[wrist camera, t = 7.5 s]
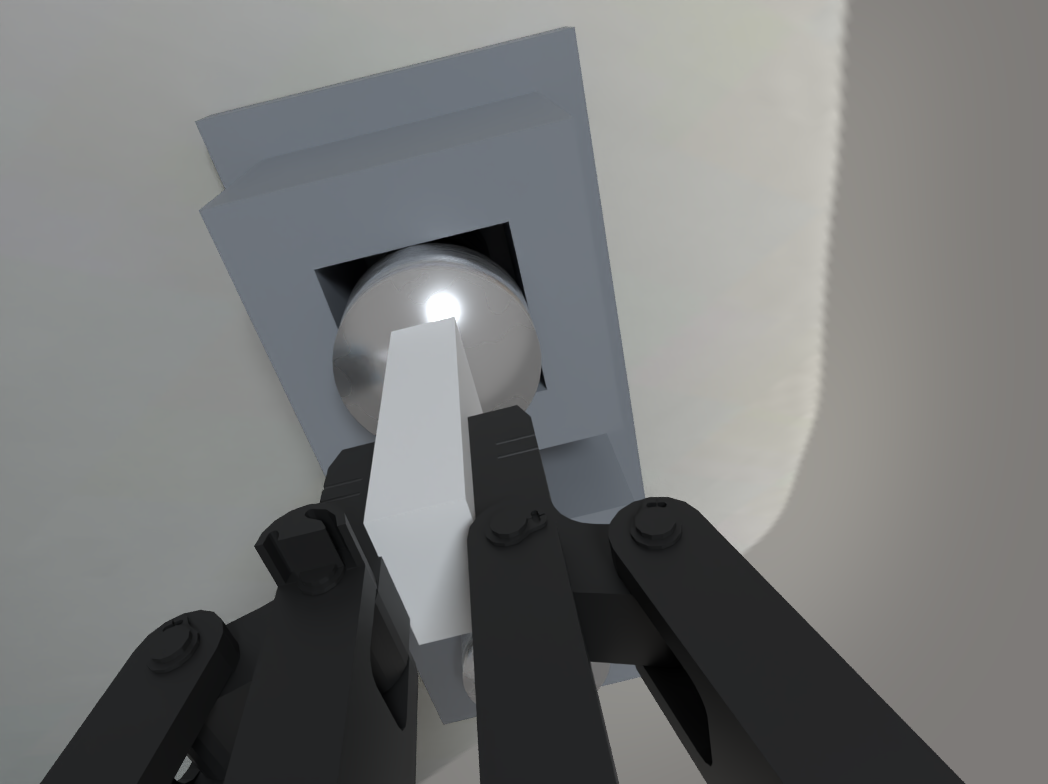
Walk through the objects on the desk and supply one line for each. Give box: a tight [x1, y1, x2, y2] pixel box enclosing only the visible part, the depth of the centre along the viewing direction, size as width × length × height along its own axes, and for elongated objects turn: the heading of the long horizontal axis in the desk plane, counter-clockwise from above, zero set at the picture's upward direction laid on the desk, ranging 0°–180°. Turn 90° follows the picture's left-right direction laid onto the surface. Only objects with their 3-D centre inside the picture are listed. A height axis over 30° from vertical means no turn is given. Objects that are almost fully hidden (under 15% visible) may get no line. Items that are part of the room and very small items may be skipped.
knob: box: [332, 229, 541, 436], centre depth 19 cm, size 5×5×8 cm
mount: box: [195, 27, 645, 725], centre depth 24 cm, size 12×24×8 cm, turn 12°
